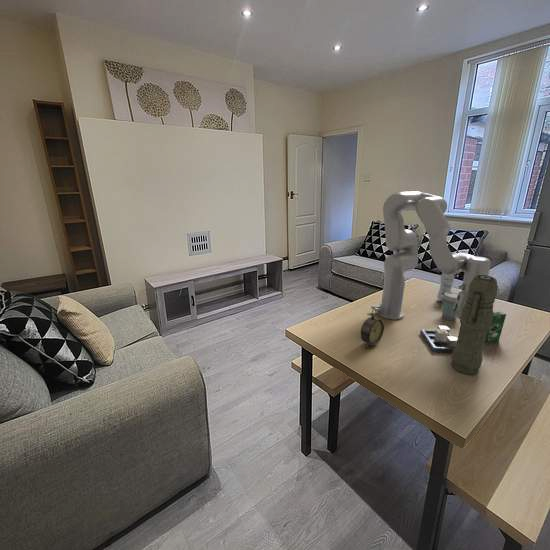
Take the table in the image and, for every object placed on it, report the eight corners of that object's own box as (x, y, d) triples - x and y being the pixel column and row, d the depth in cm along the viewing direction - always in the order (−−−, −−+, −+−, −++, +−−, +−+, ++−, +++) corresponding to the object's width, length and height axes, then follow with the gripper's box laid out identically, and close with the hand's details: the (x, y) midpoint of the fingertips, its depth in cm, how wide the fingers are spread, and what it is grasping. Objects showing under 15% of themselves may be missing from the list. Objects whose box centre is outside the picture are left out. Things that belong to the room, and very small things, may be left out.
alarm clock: (368, 351, 116) (372, 315, 111) (356, 346, 120) (360, 310, 115) (383, 342, 123) (387, 307, 117) (371, 337, 127) (375, 303, 121)
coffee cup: (453, 313, 148) (458, 291, 144) (462, 321, 140) (467, 298, 136) (436, 313, 148) (440, 291, 145) (443, 320, 140) (448, 298, 137)
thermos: (482, 365, 107) (504, 275, 96) (475, 381, 99) (499, 285, 88) (454, 356, 113) (473, 270, 102) (446, 370, 105) (465, 278, 93)
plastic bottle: (452, 303, 159) (459, 269, 153) (439, 303, 159) (446, 269, 153) (445, 299, 165) (452, 265, 159) (434, 299, 165) (440, 265, 159)
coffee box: (493, 338, 125) (500, 310, 121) (499, 341, 122) (507, 313, 118) (478, 341, 123) (485, 313, 119) (484, 344, 120) (492, 316, 116)
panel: (432, 352, 115) (434, 341, 113) (420, 333, 129) (421, 323, 127) (462, 354, 114) (465, 343, 112) (446, 335, 128) (448, 324, 126)
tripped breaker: (437, 342, 120) (439, 332, 118) (434, 338, 123) (436, 328, 121) (446, 343, 119) (448, 332, 118) (443, 339, 122) (445, 328, 121)
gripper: (457, 291, 110) (449, 334, 115) (500, 292, 108) (490, 336, 113) (448, 285, 117) (441, 326, 122) (489, 285, 115) (480, 327, 120)
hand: (465, 331), depth 118 cm, fingers closed
